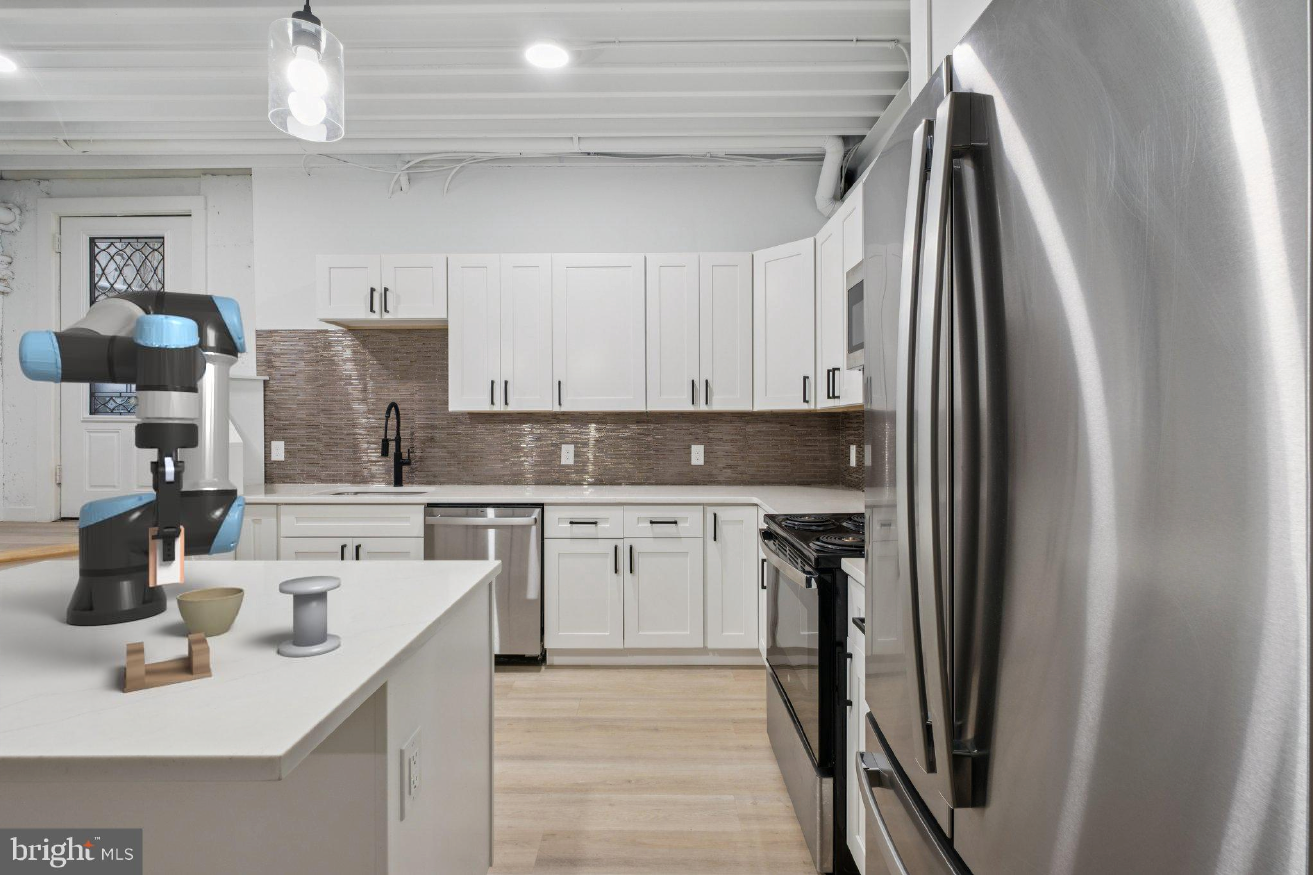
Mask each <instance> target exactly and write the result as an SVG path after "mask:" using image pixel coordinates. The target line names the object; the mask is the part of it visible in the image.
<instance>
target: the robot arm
mask: <svg viewBox="0 0 1313 875" xmlns="http://www.w3.org/2000/svg"><path fill="white" fill-rule="evenodd" d="M240 308H241V307H240V305H239V303H238V301H237V300H235V298H232V297H228V296H227V297H226V296H219V295H214V294H201V293H186V292H176V291H175V292H174V291H163V290H155V289H146V290H145V289H143V290H134V291H127V292H123V293H122V292H121V293H118V294H114V295H110V296H107V297H104V298H103V299H100V300H98V301H96V302H95V303H93V304H92V305H91V306H90V307H89V309H88V311H86V316H84V317H83V318H81V319H80V320H78V321H76V322H74V323H73V324H72V325H70V326H68V327H67V328H65V329H63V330H61V331H53V330H51V329H50V330H49V329H47V330H30V331H29V330H28V331H27V332H25V333H23V334H22V336H21V338H20V341H19V345H18V362H19V366H20V370H21V372H22V374H23V375H24V376H25V377H26V379H28V380H31V381H35V382H47V383H48V382H49V383H54V384H60V383H67V384H69V383H74V384H78V383H79V384H109V385H110V384H114V385H135V388H134V391H135V396H136V397H131V398H130V399H129V404H130V405H133V406H136V407H135V411H134V412H135V418H136V419H137V420H140V423H139V422H138V423H136V425H134V446H135V447H136V448H137V449H139V450H140V449H141V450H143V449H144V450H145V449H146V450H148V449H149V450H150V449H151V450H152V449H155V450H156V449H157V452H156V453H157V454H156V456H157V457H156V460H155V461H154V460H151V461H150V462H149V463H150V469H149V470H150V473H151V474H152V475H151V476H152V478H151V479H152V482H151V483H152V490H153V492H144V493H142V492H141V493H133V494H126V495H120V496H111V497H106V498H102V499H97V500H96V499H95V500H91V501H89V502H87V503H84V504H83V505H82V506H81V507H80V509H79V516H78V517H79V518H78V525H77V530H78V582H77V584H76V586H75V588H74V592H73V594H72V597H71V599H70V601H69V604H68V607H67V609H66V623H67V624H70V625H76V626H99V625H110V624H118V623H123V622H124V623H125V622H130V621H131V622H132V621H135V620H141V619H145V618H149V617H153V616H155V615H157V614H161V613H163V612H165V611H166V610H167V609H168V605H167V604H168V599H167V595H166V593H165V590H164V587H163V585H161V584H170V583H178V582H180V537H179V536H180V534H181V528H180V526H183V527H184V557H191V556H192V557H193V556H206V555H208V556H213V555H215V554H216V555H217V554H226V553H227V554H228V553H231V552H234V551H235V550H236V548H238V545H239V542H240V539H241V535H242V529H243V523H244V516H245V510H246V509H245V508H246V498H245V497H244V496H242V495H238V487H237V486H236V485H234V484H233V483H232V482H231V480H230V369H231V367H233V366H234V365H235V364H237V363H238V361H239V354H243V353H246V352H247V348H246V339H245V333H244V332H245V330H244V327H243V326H244V324H243V318H242V314H241V313H242V312H241V309H240ZM153 527H158V530H157V535H152V536H151V538H152V540H157V585H161V586H152V587H150V586H149V528H153ZM170 585H171V584H170Z"/></svg>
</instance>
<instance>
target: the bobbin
mask: <svg viewBox="0 0 1313 875" xmlns="http://www.w3.org/2000/svg"><path fill="white" fill-rule="evenodd" d="M340 587H341V578H340V577H339V576H334V575H333V576H332V575H314V576H313V575H312V576H305V577H304V576H303V577H298V578H292V579H288V580H284V581H282V582H280V583H279V584H278V592H279V593H280V594H285V595H292V607H293V608H292V628H293V629H292V630H293V631H292V638H289V639H287V640H284V641H282V642H280V643H279V645H278V654H279V655H281V656H283V657H286V658H287V657H288V658H306V657H314V656H320V655H324V654H327V653H330V652H333V651H335V650H337V649H339V648H340V647H341V637H340V636H339V635H338V634H332V633H328V592H329V591H334V590H336V589H338V588H340Z"/></svg>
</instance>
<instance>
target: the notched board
mask: <svg viewBox="0 0 1313 875" xmlns="http://www.w3.org/2000/svg"><path fill="white" fill-rule="evenodd" d="M125 647H126V649H125V651H126V656H125V657H126V660H125V661H126V662H125V663H126V664H125V665H126V667H124V671H123V673H124V674H123V693H125V694H126V693H130V692H134V691H135V692H136V691H139V690H140V691H141V690H145V689H146V690H147V689H151V688H156V687H157V688H158V687H161V686H162V687H163V686H167V685H172V684H178V683H182V682H188V681H194V680H198V679H204V678H209V677H210V678H211V677H213V671H212V669H211V665H210V664H211V654H210V653H211V652H210V650H211V649H210V646H209V643H208V640H207V637H205V635H204V632H202V633H196V634H192V633H190V634H187V656H186V657H181V658H175V659H169V660H164V661H163V660H162V661H158V662H151V663H146V658H145V655H146V654H145V644H144V641H140V642H132V643H127V644H126V646H125Z"/></svg>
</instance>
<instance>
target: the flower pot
mask: <svg viewBox="0 0 1313 875" xmlns="http://www.w3.org/2000/svg"><path fill="white" fill-rule="evenodd" d="M244 596H245V589H244V588H243V587H236V586H235V587H234V586H226V587H224V586H223V587H208V588H201V589H194V590H190V591H186V592H183V593H180V594H177V595H176V604H177V607H178V611H179V613H180V616H181V618H182V621H183V622H184V624H185V626H186V628H187V629H188V631H189V632H190V634H196V633H202V632H204V635H205V637H206V638H207V637H208V638H210V637H217V636H220V635H223V634H225V633H227V632H229V630H230V628H231V627H232V625H233V624H234V622H235V620H236V618H237V616H238V614H239V612H240V611H241V607H242V605H243V601H244Z"/></svg>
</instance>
